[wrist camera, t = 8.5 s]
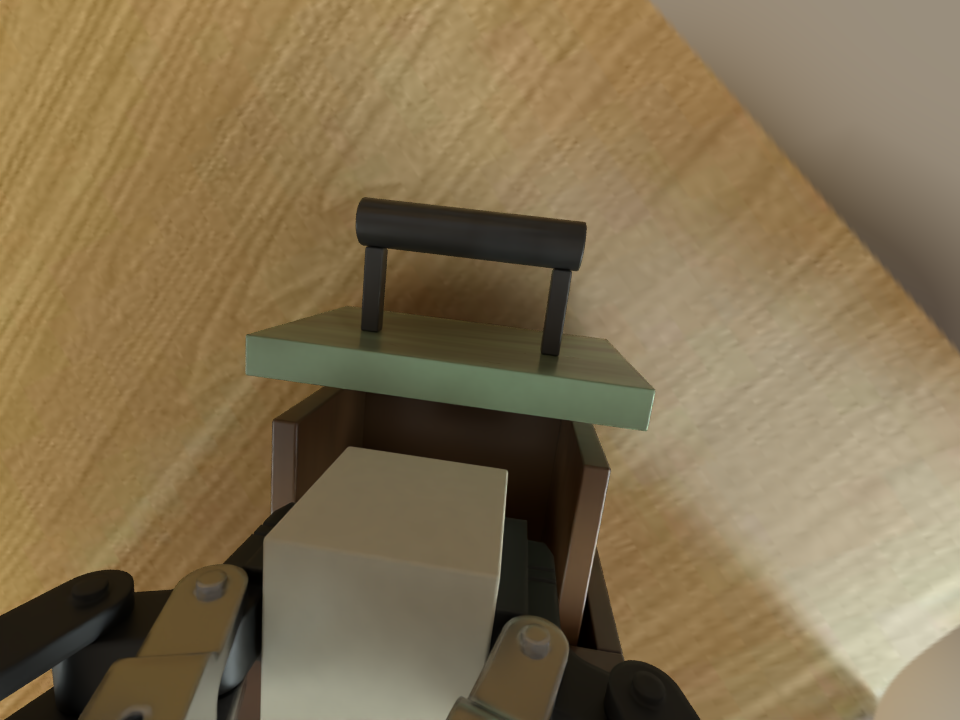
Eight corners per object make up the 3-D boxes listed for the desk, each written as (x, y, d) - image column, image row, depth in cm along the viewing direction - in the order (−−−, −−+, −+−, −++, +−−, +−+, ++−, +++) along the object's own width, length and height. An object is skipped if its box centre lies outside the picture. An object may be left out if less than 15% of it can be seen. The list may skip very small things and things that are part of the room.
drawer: (351, 205, 20) (245, 174, 12) (625, 236, 19) (690, 224, 12) (332, 571, 24) (243, 718, 16) (558, 609, 23) (575, 781, 16)
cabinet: (332, 465, 24) (207, 603, 14) (586, 504, 23) (629, 676, 14) (320, 702, 27) (212, 939, 18) (542, 743, 26) (552, 1014, 17)
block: (348, 444, 13) (261, 537, 9) (508, 469, 13) (500, 577, 8) (339, 583, 14) (258, 729, 10) (488, 609, 14) (472, 769, 9)
